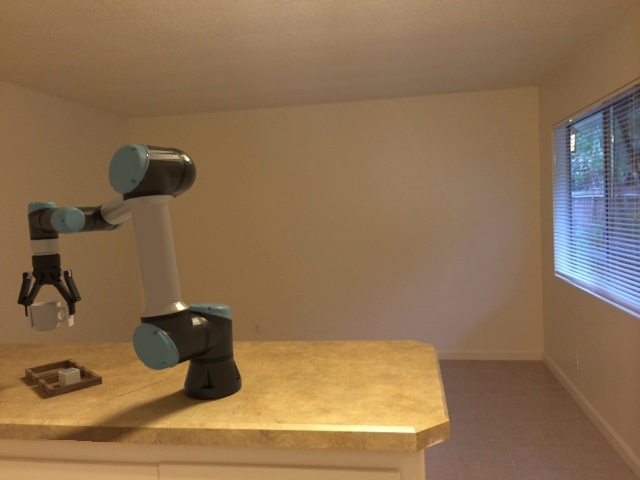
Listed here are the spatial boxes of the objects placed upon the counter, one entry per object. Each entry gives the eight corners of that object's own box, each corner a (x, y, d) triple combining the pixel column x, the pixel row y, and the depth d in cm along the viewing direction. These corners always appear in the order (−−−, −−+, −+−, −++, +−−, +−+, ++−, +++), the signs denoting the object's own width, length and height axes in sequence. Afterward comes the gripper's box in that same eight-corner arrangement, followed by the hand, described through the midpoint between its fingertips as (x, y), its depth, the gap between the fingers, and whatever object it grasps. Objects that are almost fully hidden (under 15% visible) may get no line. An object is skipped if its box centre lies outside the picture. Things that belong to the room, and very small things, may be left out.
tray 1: (85, 375, 150) (84, 366, 150) (37, 387, 141) (36, 378, 141) (71, 366, 159) (70, 358, 159) (25, 377, 150) (25, 369, 150)
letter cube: (80, 383, 140) (79, 369, 140) (66, 388, 137) (65, 373, 137) (73, 381, 143) (72, 367, 142) (59, 385, 139) (58, 371, 139)
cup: (76, 326, 153) (74, 300, 152) (60, 332, 145) (58, 305, 144) (43, 326, 154) (41, 301, 153) (26, 333, 146) (24, 306, 145)
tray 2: (102, 385, 140) (101, 377, 139) (51, 399, 131) (51, 390, 130) (86, 375, 149) (85, 367, 149) (38, 387, 140) (37, 379, 140)
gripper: (90, 250, 151) (95, 322, 152) (15, 254, 152) (21, 324, 153) (77, 253, 143) (83, 328, 145) (-1, 256, 144) (5, 330, 146)
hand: (51, 326), depth 149 cm, fingers closed on cup, 11 cm apart
